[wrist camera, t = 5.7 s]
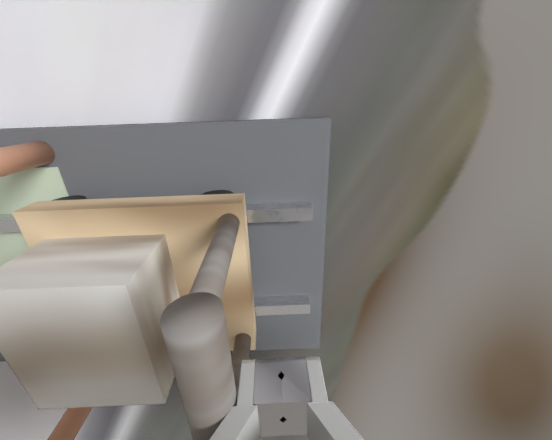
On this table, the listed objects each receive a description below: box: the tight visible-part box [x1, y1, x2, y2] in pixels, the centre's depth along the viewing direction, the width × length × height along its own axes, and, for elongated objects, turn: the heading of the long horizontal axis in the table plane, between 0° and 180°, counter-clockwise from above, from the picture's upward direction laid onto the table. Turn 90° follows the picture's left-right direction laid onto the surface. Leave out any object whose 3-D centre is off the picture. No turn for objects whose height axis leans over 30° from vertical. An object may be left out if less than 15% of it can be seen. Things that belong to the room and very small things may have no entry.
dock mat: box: [0, 117, 331, 361], centre depth 18 cm, size 17×30×1 cm, turn 92°
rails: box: [0, 201, 313, 316], centre depth 17 cm, size 8×28×1 cm, turn 92°
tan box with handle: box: [0, 190, 256, 440], centre depth 12 cm, size 10×11×10 cm
